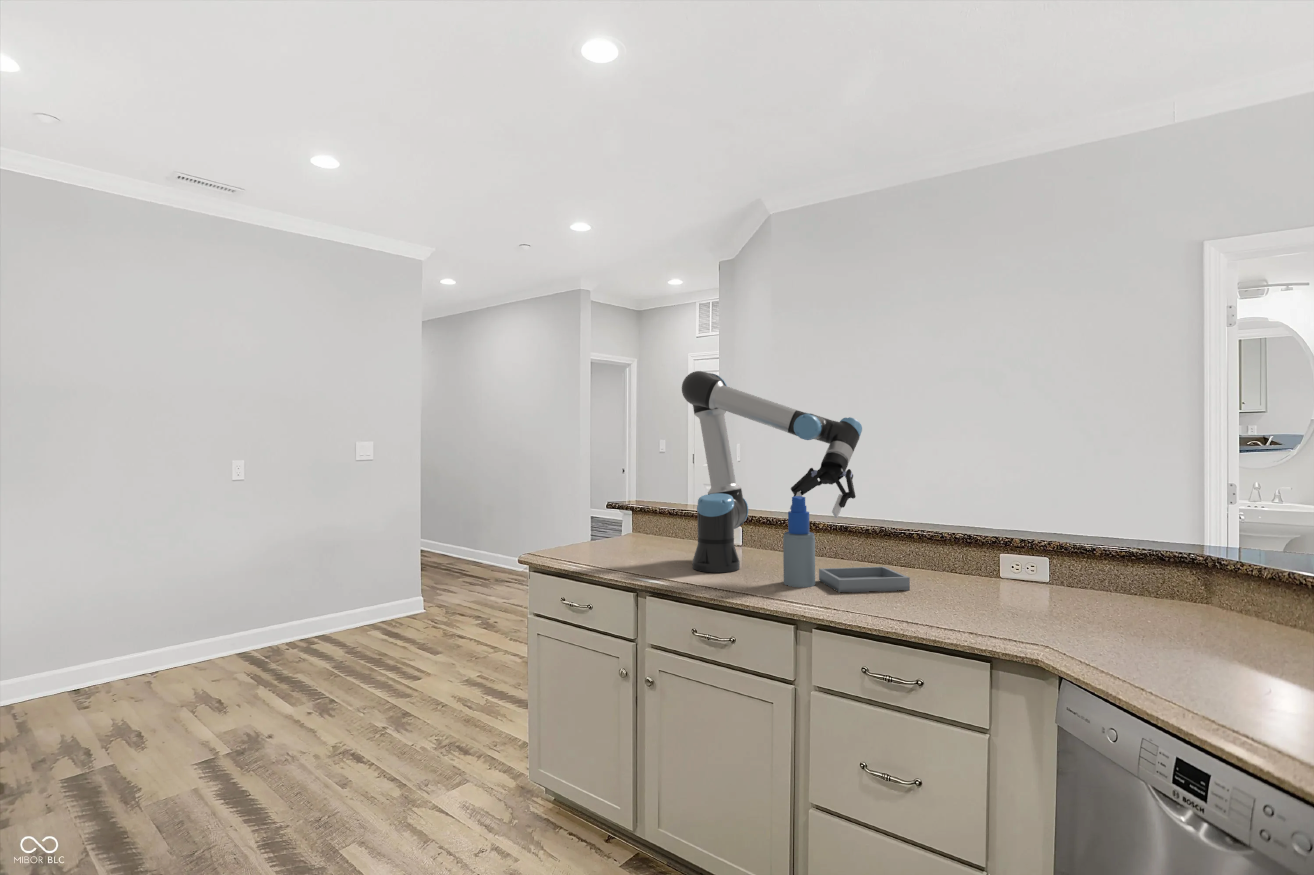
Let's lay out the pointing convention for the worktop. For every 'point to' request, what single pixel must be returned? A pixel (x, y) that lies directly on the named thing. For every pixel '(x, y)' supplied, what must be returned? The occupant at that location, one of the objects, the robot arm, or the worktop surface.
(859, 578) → the tray
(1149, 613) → the worktop surface
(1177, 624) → the worktop surface
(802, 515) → the spray bottle
